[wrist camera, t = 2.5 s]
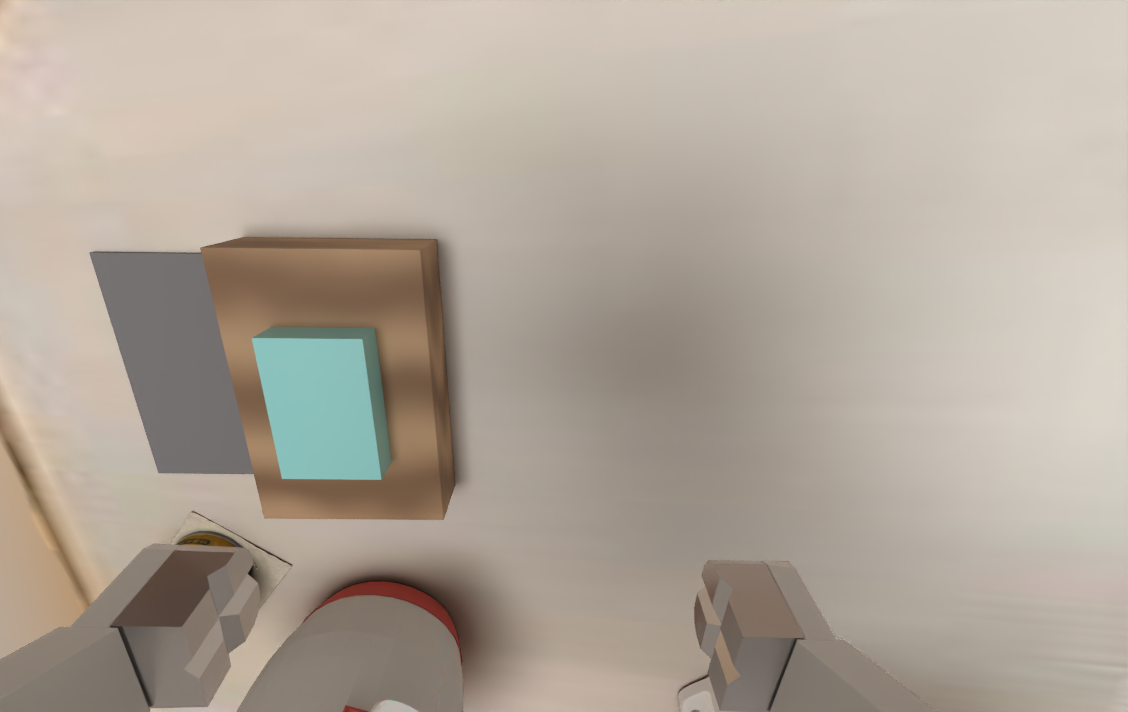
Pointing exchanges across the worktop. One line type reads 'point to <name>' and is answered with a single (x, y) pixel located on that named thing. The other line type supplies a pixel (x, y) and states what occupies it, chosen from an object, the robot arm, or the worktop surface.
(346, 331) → the block
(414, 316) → the board
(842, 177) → the worktop surface
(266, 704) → the citrus juicer
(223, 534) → the condiment
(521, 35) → the worktop surface
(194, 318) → the mat
